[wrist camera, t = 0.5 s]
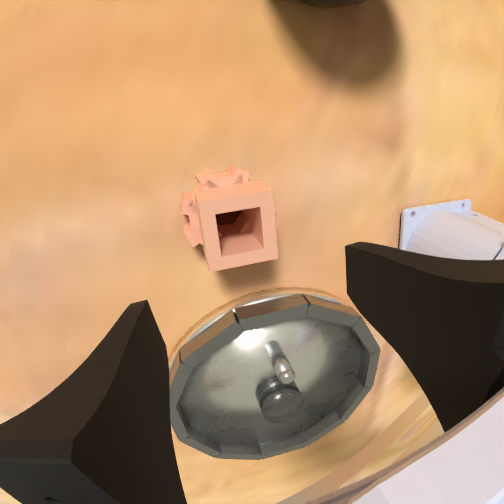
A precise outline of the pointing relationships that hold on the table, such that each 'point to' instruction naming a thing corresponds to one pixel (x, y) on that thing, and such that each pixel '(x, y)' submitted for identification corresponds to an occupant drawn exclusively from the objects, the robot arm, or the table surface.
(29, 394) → the table surface
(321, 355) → the plate
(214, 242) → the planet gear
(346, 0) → the jar
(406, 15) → the table surface
